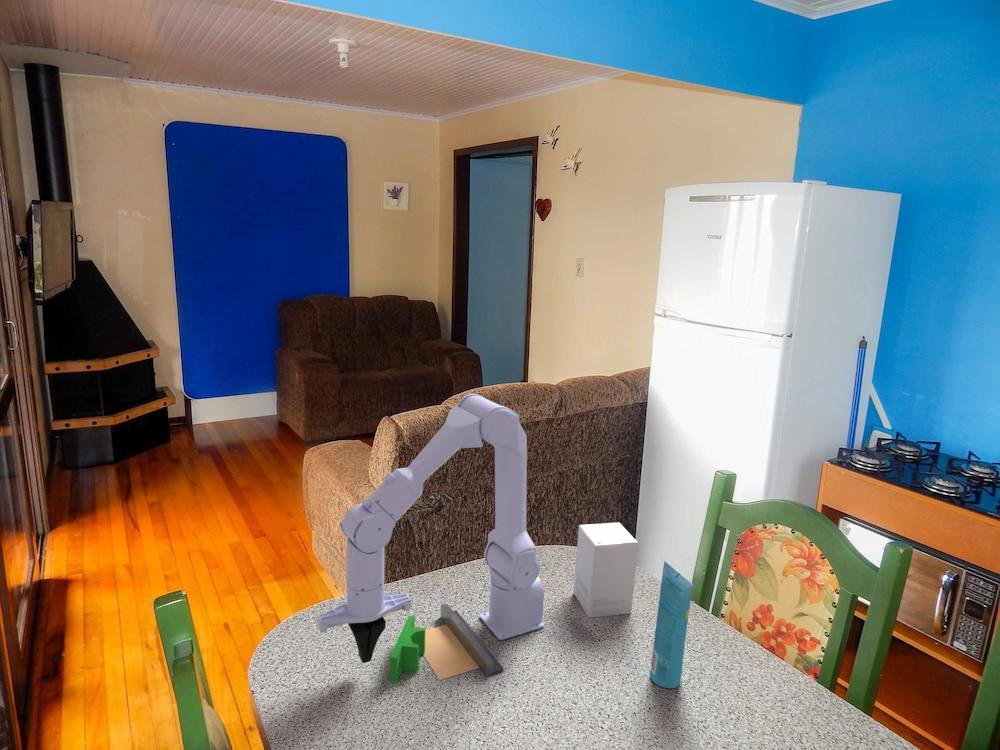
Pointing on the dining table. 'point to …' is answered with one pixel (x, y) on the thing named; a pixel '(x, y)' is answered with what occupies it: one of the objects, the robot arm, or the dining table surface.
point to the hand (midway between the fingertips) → (365, 658)
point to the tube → (670, 628)
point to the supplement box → (605, 569)
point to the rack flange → (457, 648)
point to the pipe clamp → (407, 649)
